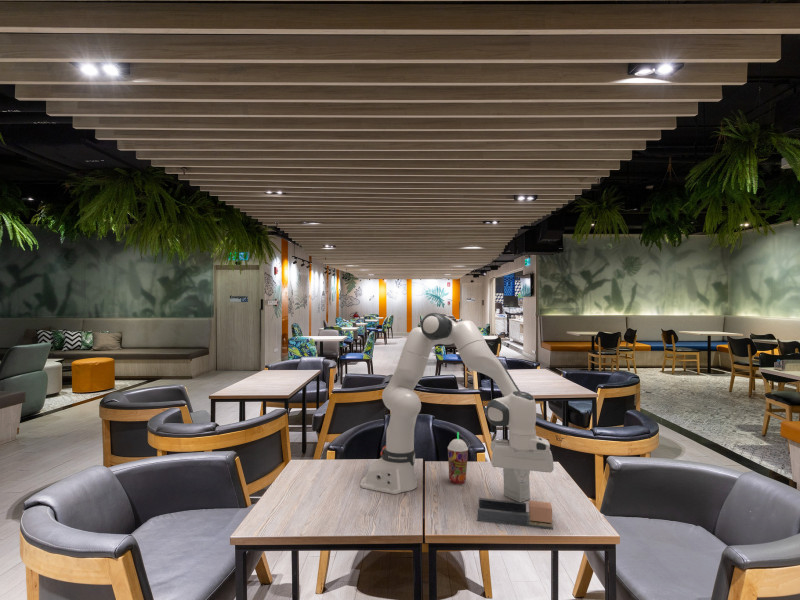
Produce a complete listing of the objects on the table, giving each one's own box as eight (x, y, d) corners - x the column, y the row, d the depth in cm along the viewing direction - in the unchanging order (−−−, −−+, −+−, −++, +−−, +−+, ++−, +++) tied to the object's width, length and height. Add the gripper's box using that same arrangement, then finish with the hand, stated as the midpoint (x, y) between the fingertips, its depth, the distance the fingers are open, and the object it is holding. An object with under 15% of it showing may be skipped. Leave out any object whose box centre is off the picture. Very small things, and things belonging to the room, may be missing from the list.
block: (529, 520, 151) (529, 506, 151) (529, 513, 155) (529, 500, 156) (552, 522, 149) (552, 509, 149) (550, 516, 154) (550, 502, 154)
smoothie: (454, 486, 181) (455, 436, 181) (443, 479, 188) (443, 430, 189) (471, 483, 185) (472, 433, 185) (460, 476, 192) (460, 428, 192)
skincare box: (530, 499, 170) (530, 459, 170) (519, 503, 166) (519, 462, 167) (513, 491, 177) (513, 453, 177) (502, 495, 173) (502, 455, 174)
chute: (477, 520, 152) (477, 509, 152) (479, 508, 162) (479, 497, 162) (553, 529, 147) (553, 518, 147) (550, 515, 156) (550, 505, 156)
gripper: (490, 440, 153) (489, 482, 153) (554, 446, 148) (553, 489, 148) (491, 435, 159) (490, 475, 159) (552, 441, 154) (552, 482, 154)
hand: (521, 482), depth 153 cm, fingers closed
